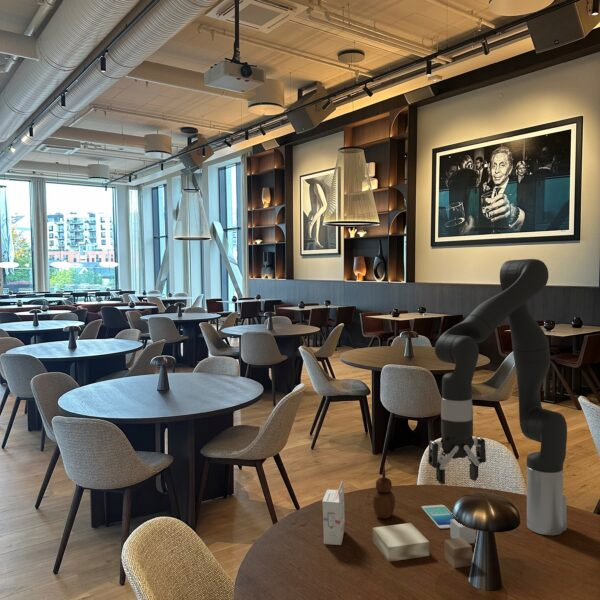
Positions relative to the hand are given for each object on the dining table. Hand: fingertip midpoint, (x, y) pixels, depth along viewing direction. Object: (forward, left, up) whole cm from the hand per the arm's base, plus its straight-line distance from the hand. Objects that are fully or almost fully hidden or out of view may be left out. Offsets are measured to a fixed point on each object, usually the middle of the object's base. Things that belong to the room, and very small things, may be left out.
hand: (457, 481), depth 134 cm
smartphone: (-8, -24, -21) cm, 33 cm away
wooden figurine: (+8, -29, -20) cm, 36 cm away
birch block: (+11, -10, -20) cm, 25 cm away
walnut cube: (0, 0, -20) cm, 20 cm away
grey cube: (-7, -10, -20) cm, 24 cm away
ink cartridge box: (+26, -20, -20) cm, 39 cm away
